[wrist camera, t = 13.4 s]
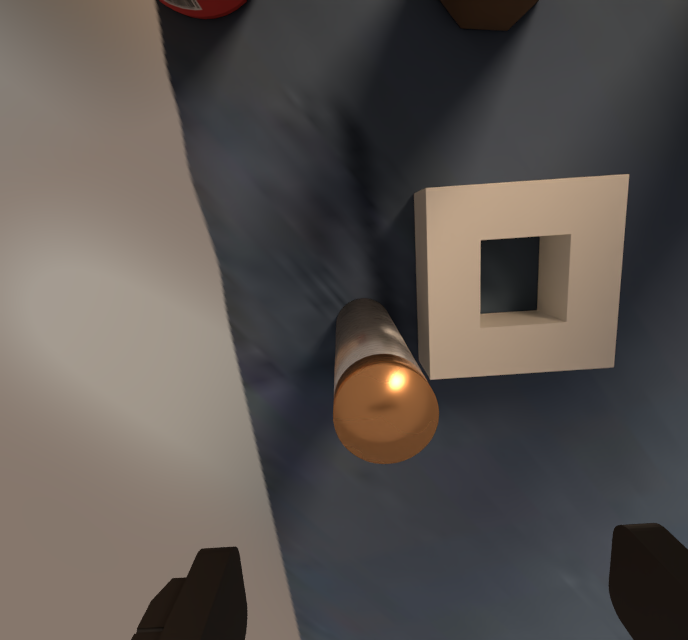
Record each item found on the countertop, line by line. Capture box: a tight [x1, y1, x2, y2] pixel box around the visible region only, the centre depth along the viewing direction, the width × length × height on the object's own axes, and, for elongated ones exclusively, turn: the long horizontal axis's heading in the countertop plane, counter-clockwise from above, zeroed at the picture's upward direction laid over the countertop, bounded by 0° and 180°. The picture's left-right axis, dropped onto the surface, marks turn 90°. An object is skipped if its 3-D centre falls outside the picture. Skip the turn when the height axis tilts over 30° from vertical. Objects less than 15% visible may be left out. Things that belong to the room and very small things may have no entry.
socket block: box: [414, 174, 629, 380], centre depth 28 cm, size 12×12×4 cm
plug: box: [333, 298, 439, 464], centre depth 23 cm, size 4×4×15 cm
